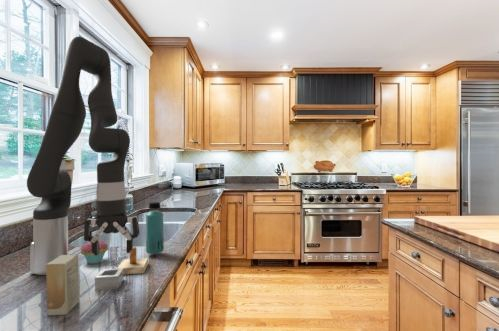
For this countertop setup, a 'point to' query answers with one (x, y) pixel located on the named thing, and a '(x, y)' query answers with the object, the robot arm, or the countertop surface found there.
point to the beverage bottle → (154, 230)
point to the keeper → (133, 264)
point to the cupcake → (88, 254)
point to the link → (109, 279)
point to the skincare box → (62, 284)
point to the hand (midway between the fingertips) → (113, 253)
